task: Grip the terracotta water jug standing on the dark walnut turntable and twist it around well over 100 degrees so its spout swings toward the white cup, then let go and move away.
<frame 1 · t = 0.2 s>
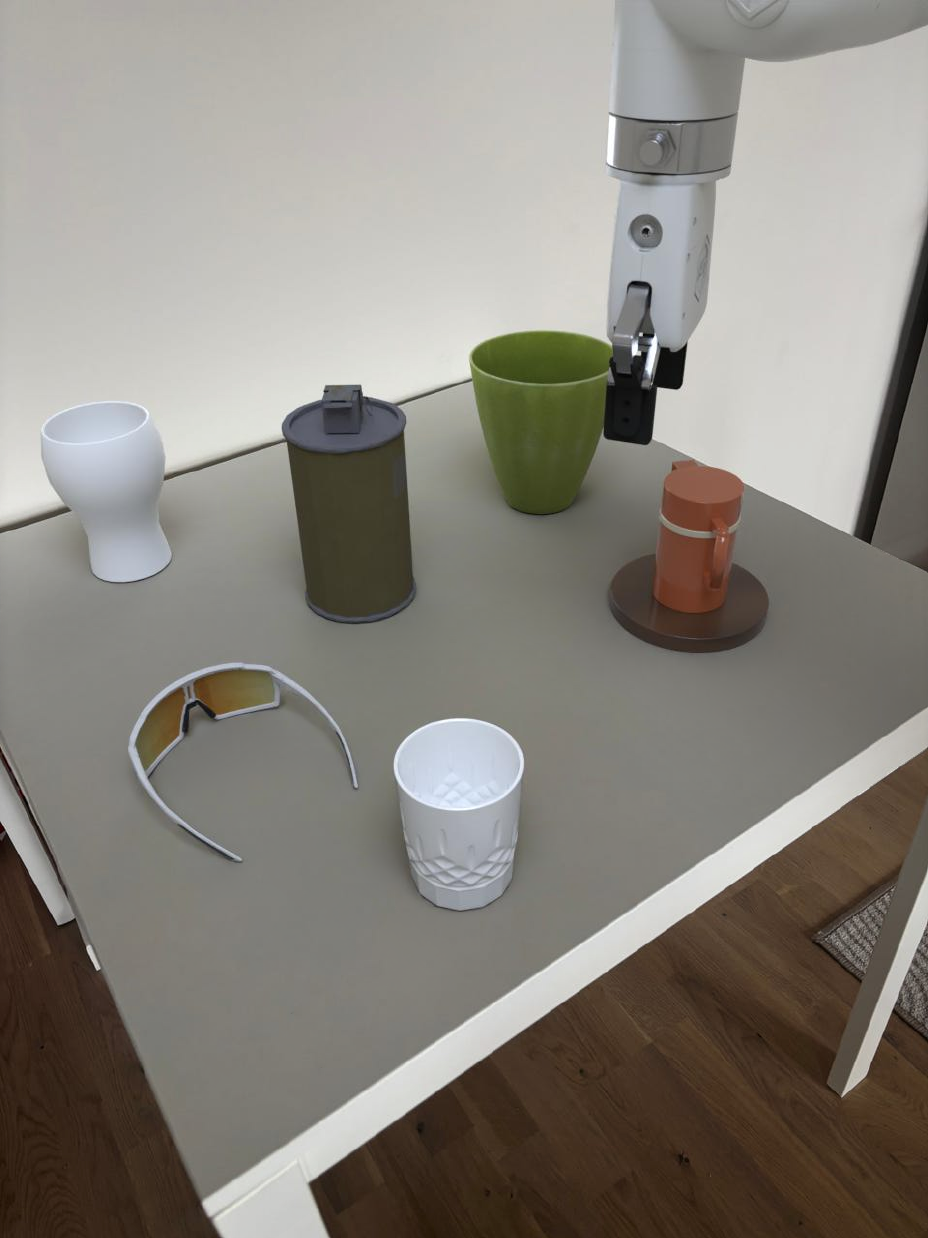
hand: (644, 411, 68), 23 cm above the table, tool pointing down, fingers open, 9 cm apart
flower pot: (540, 499, 106), on the table
cup: (132, 563, 97), on the table
sunglasses: (244, 773, 72), on the table
canister: (361, 592, 92), on the table
turntable: (687, 605, 88), on the table
white cup: (462, 872, 65), on the table
jug: (697, 541, 84), point 7 cm above the table, hinge at 0.0°
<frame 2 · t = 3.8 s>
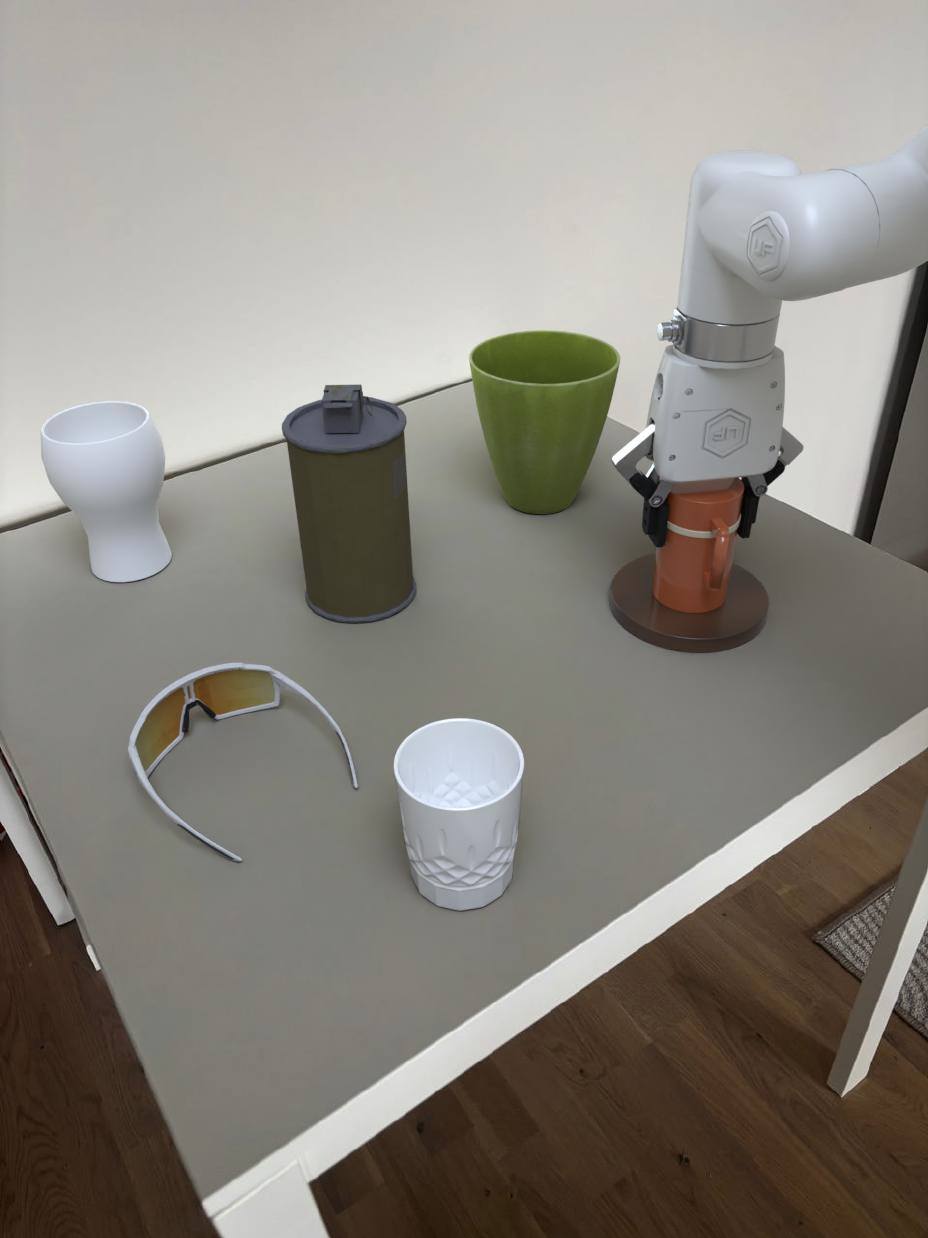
hand: (697, 533, 84), 8 cm above the table, tool pointing down, fingers closed on jug, 6 cm apart
jug: (697, 541, 84), point 7 cm above the table, hinge at -0.1°, touching gripper
everything else where it was.
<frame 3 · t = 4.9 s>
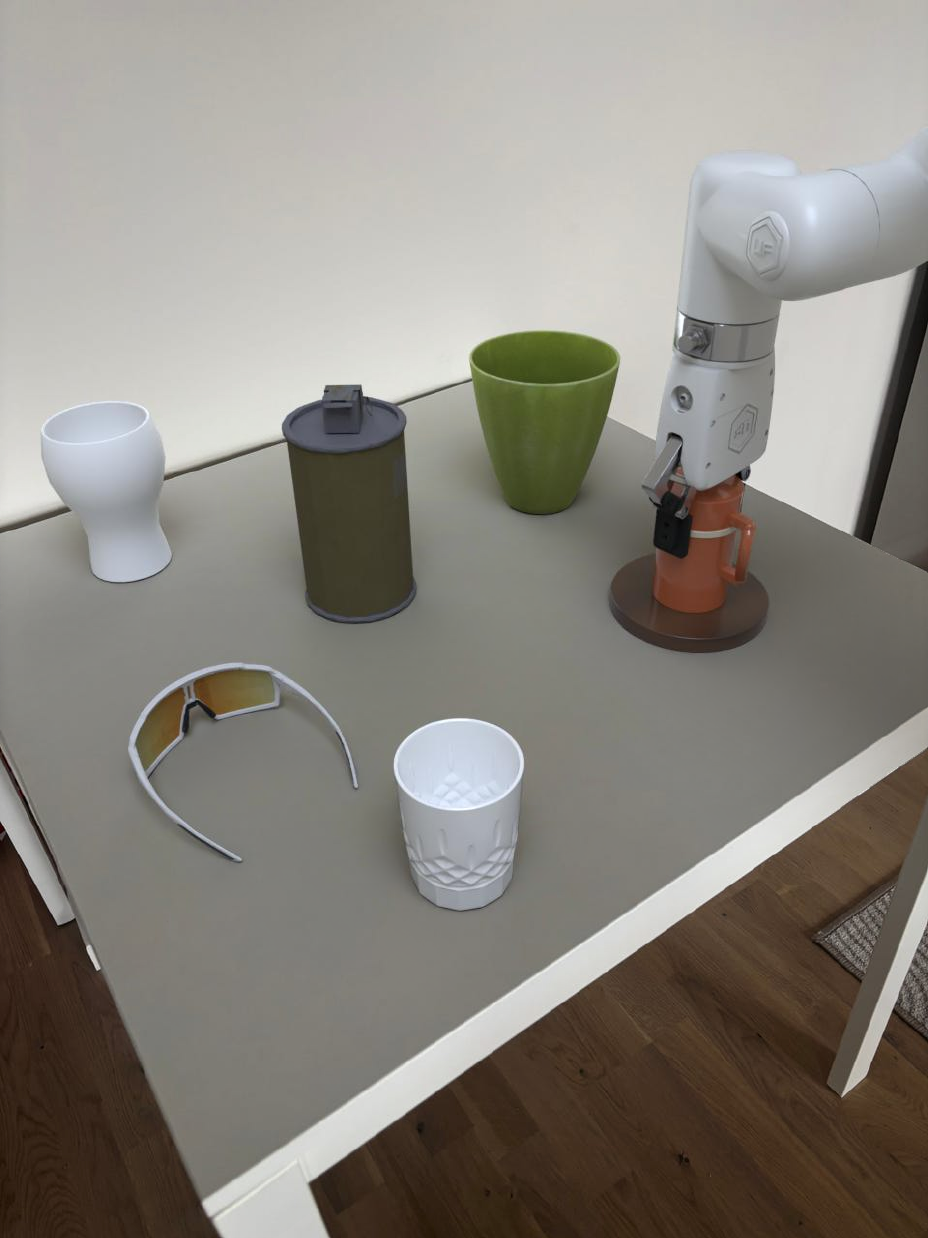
hand: (696, 533, 84), 8 cm above the table, tool pointing down, fingers closed on jug, 6 cm apart
jug: (698, 541, 84), point 7 cm above the table, hinge at 29.8°, touching gripper
everything else where it was.
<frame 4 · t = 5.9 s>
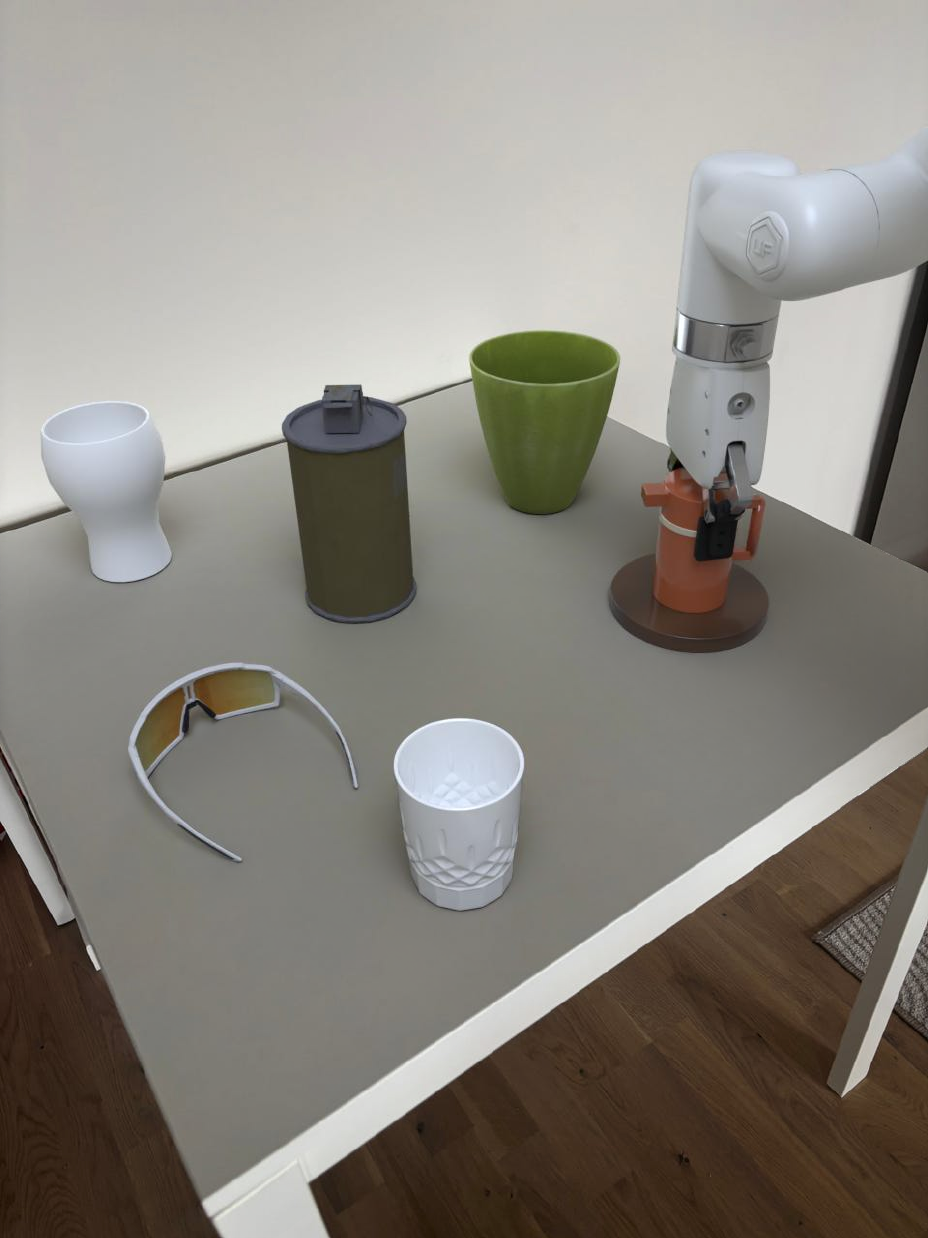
hand: (696, 533, 84), 8 cm above the table, tool pointing down, fingers closed on jug, 6 cm apart
jug: (699, 539, 84), point 7 cm above the table, hinge at 82.7°, touching gripper
everything else where it was.
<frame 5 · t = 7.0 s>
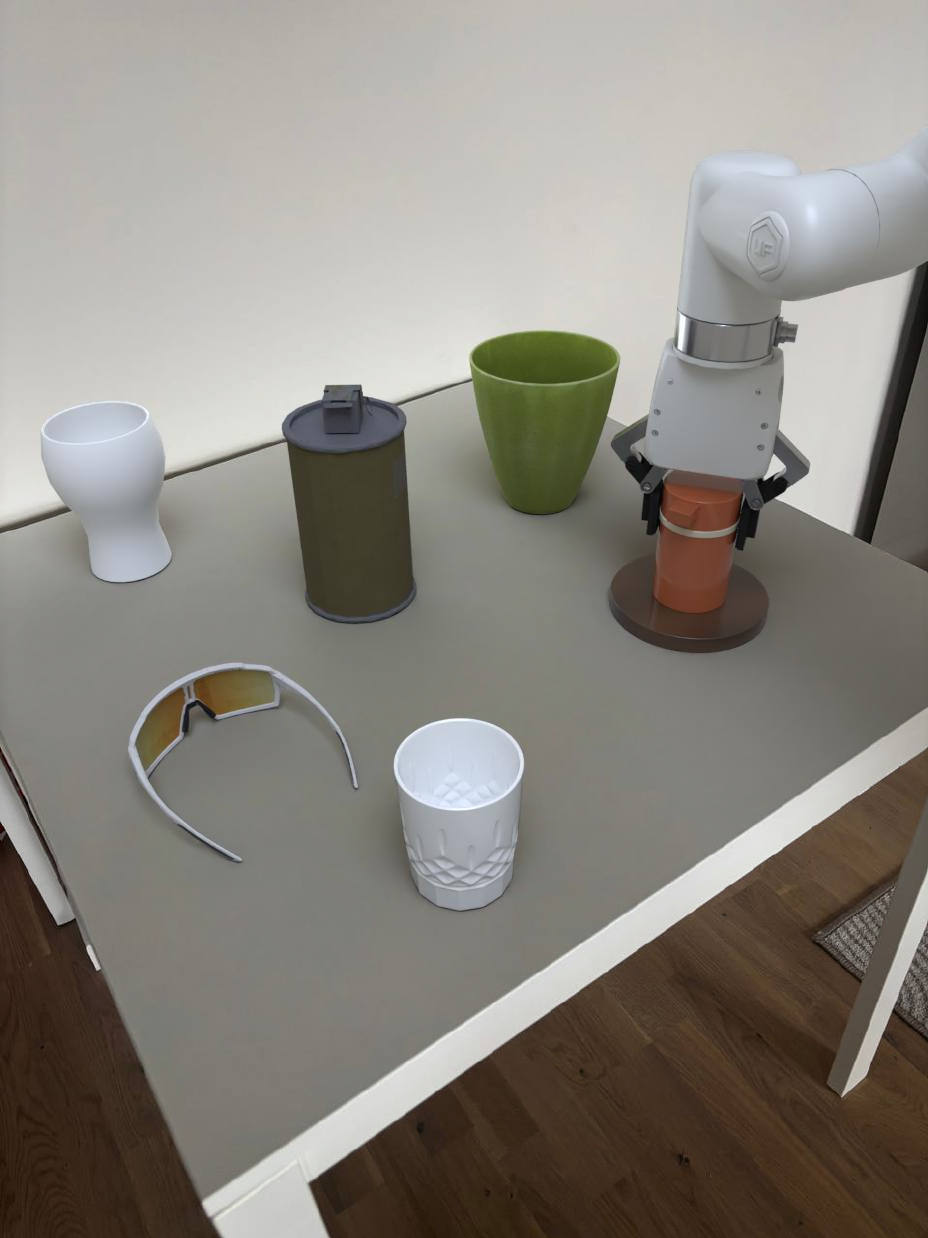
hand: (696, 533, 84), 8 cm above the table, tool pointing down, fingers closed on jug, 6 cm apart
jug: (697, 538, 84), point 7 cm above the table, hinge at 136.7°, touching gripper
everything else where it was.
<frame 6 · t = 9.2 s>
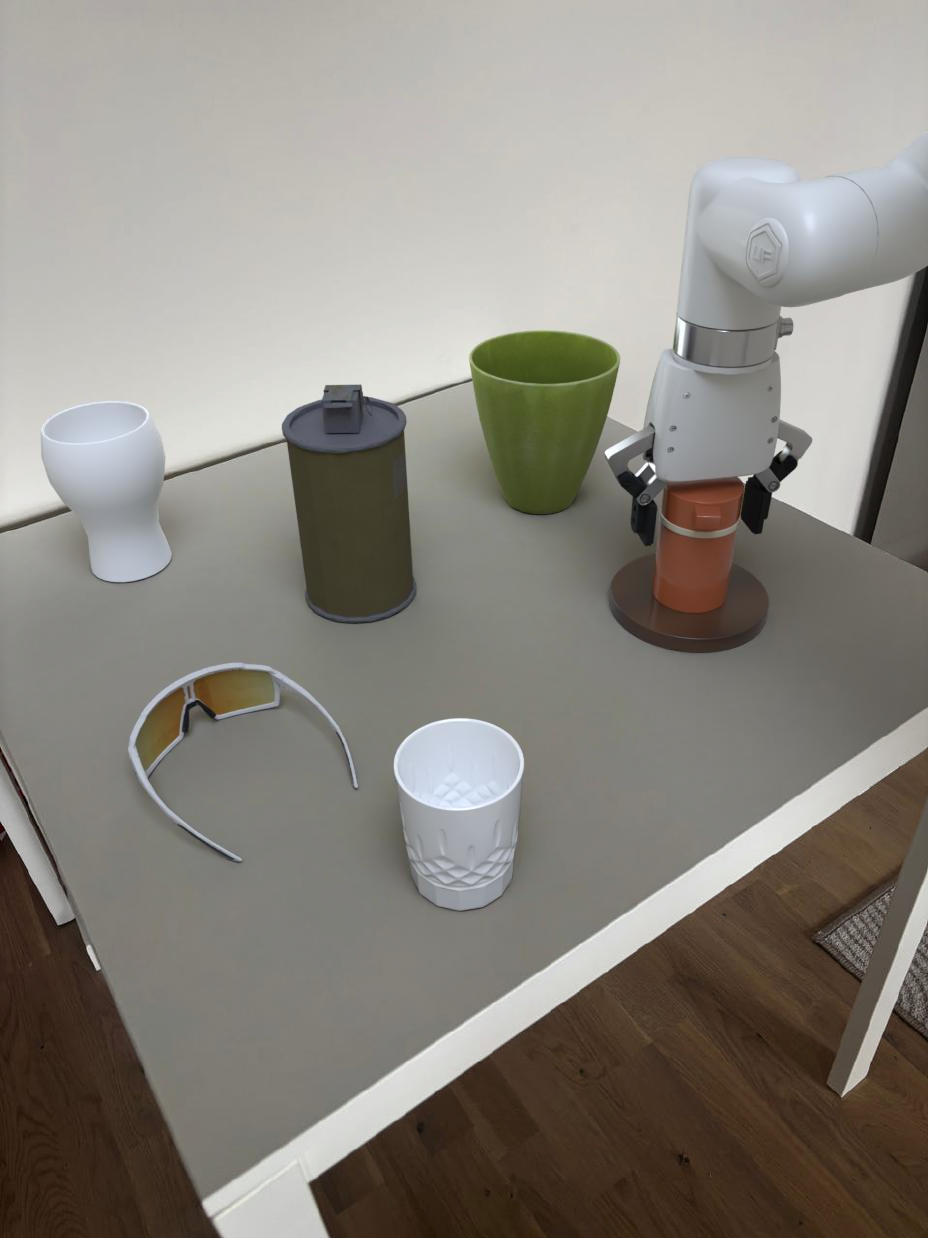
hand: (697, 532, 84), 8 cm above the table, tool pointing down, fingers open, 9 cm apart
jug: (695, 538, 84), point 7 cm above the table, hinge at 164.3°
everything else where it was.
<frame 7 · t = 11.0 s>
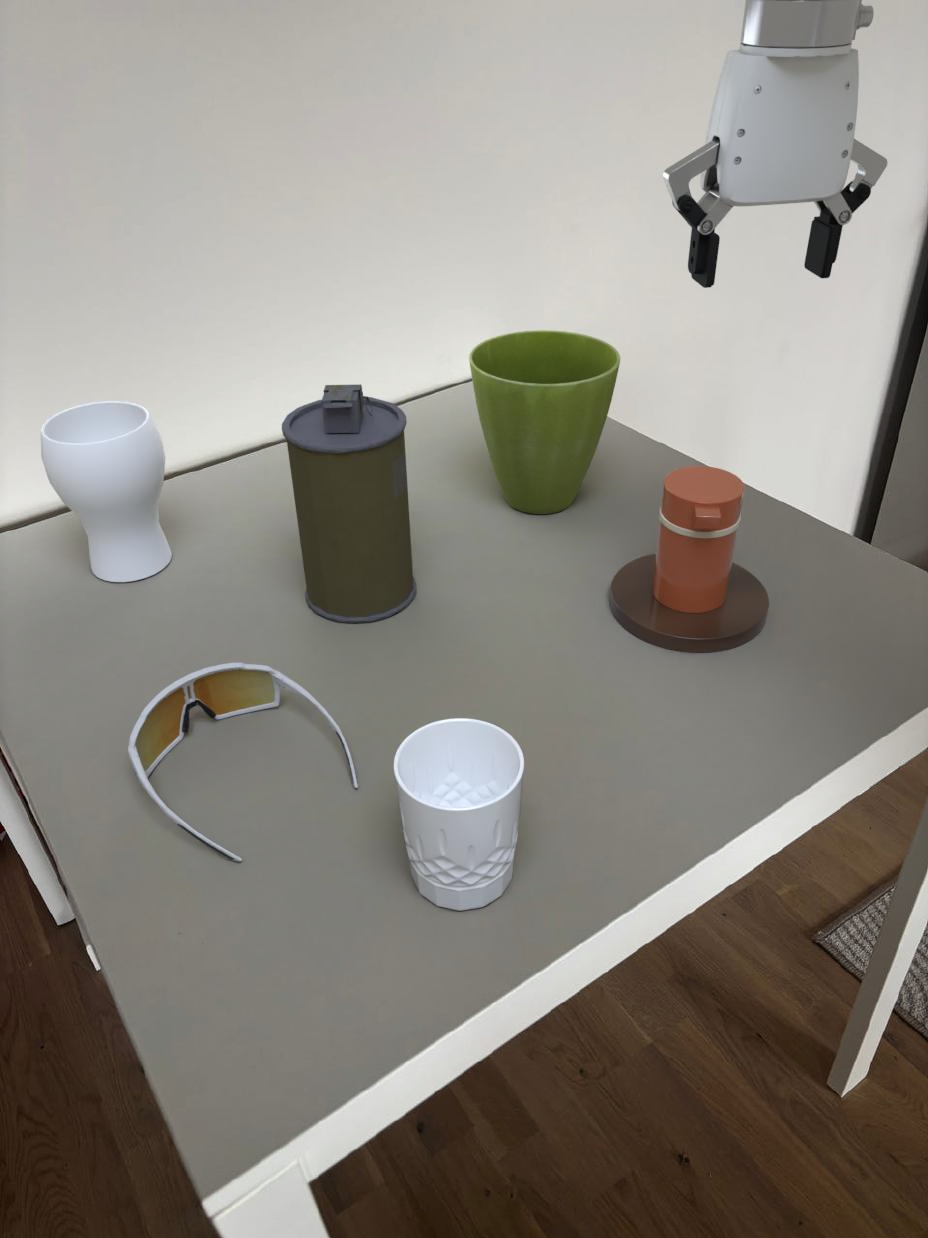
hand: (759, 277, 77), 27 cm above the table, tool pointing down, fingers open, 9 cm apart
nothing on the table moved.
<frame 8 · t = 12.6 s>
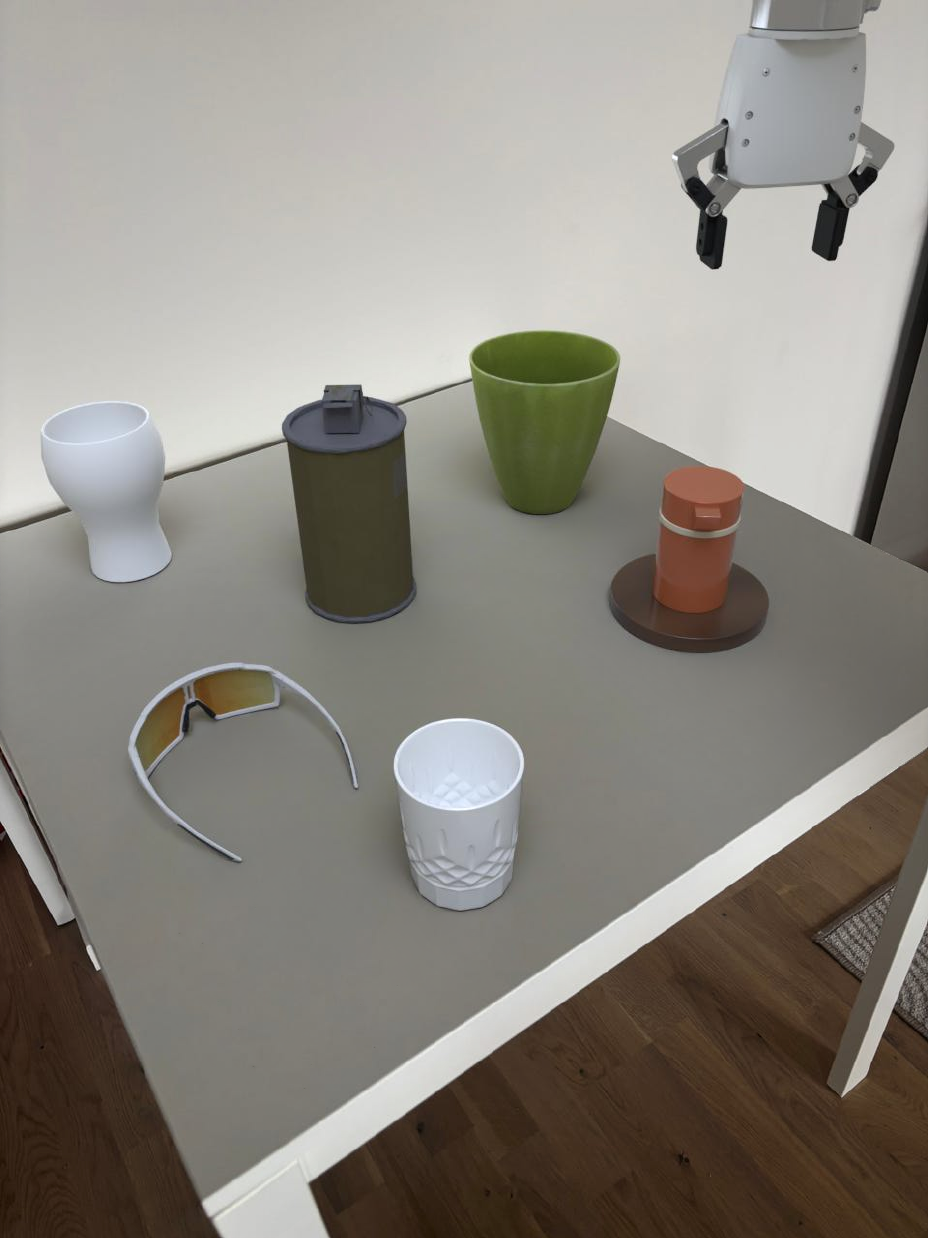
hand: (766, 260, 78), 28 cm above the table, tool pointing down, fingers open, 9 cm apart
nothing on the table moved.
at the end: jug at +164° (first picture: +0°); white cup moved 0.2 cm from its start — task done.
